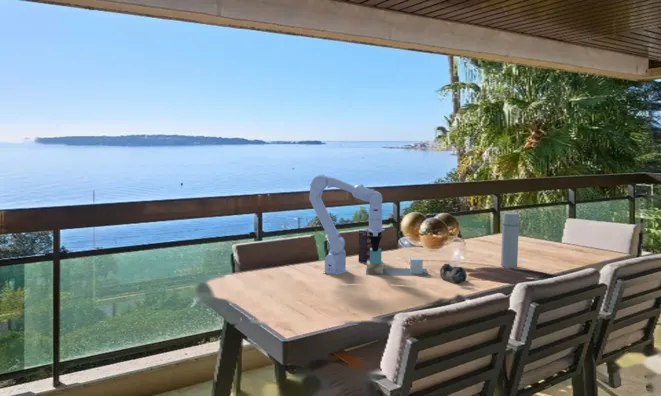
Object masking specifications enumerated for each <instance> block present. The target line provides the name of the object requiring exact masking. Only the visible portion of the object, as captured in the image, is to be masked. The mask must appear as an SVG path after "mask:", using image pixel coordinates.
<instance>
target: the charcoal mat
mask: <svg viewBox="0 0 661 396" xmlns="http://www.w3.org/2000/svg"><path fill="white" fill-rule="evenodd" d="M365 275H366V276H389V277H391V276H395V277H396V276H397V277H398V276H400V277H401V276H402V277H407V276H408V277H430V274H429V272H428V270H427V268H422V274H415V273H411V272H410V268H401V267H391V268H390V267H383V274H380V273H367V267H366V269H365Z"/></svg>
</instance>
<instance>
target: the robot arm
mask: <svg viewBox="0 0 661 396" xmlns="http://www.w3.org/2000/svg"><path fill="white" fill-rule="evenodd" d="M326 188H327V189H331V188H336V189H339V190H341V191H342V190H343V191H346V192H348V193H351V195H352V196H353V198H355V199H358V200H361V201H364V202H366V203H367V202H369V208H368V228H369V229H368V228H367V229H368V231H370V232H369V234H370V235H369V238H370V240H371V244H372V250H373V252H378V248H380V242H381V240H382V238H383V236H382V232H385V228H383V205H382V203H383V200H384V199H383V195H382V194H381V192H379V191H378V190H375V189H374V188H367V187H365V186H364V184H357V185H353V184H350V183H348V182H345V181H343V180H340V179H338V178H336V177H334V176H333V177H332V176H328V175H325V174H318V175H316V176H315V177H313V179H312V181H311V183H310V186H309V196H308V199H309V201H310V204H311V206H312V208H313V210H314V211H315V213H316V216H317V217H318V219H319V222H320V223H321V226H322V228H323V230H324V232H325V234H326V237H327V240H328V243H329V253H328V254H327V255H326V256H325V257H324V271H323V272H325V273H324V274H328V273H329V274H333V275H340V274H341V275H342V274H343V273H346V272H349V271H350V269H346V267H347V266H346V259H347V258H346V257H347V255H346V253H347V252H346V250H345V245H346V240H345V238H344V236H342V235H341V234H340V233H339V230H337V227H336V226H335V223H334V222H333V220H332V217H331V216H330V214H329V211H328V210H327V208H326V205H325V203H324V202H323V199H322V196H323V193H324V190H325V189H326Z"/></svg>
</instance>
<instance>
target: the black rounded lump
mask: <svg viewBox="0 0 661 396" xmlns="http://www.w3.org/2000/svg"><path fill="white" fill-rule="evenodd" d="M439 271H440V272H439V275H440V278H441V279H442V280H444V281H447V282H449V283H451V284H459V283H461V282H466V280H467V276H468V275H467V271H466V270H465V269H464V268H463V267H462V266H451V264H449V263H444V264H443V265H442V266H441V268H440V269H439Z"/></svg>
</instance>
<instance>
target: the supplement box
mask: <svg viewBox="0 0 661 396" xmlns="http://www.w3.org/2000/svg"><path fill="white" fill-rule="evenodd" d="M368 229H369V227H367V228H365V229H359V231H358V263H361V262H362V263H363V264H367V261H370V248H372V244H371V240H370V238H369V235H370V234H369V232H370V231H368Z"/></svg>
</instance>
